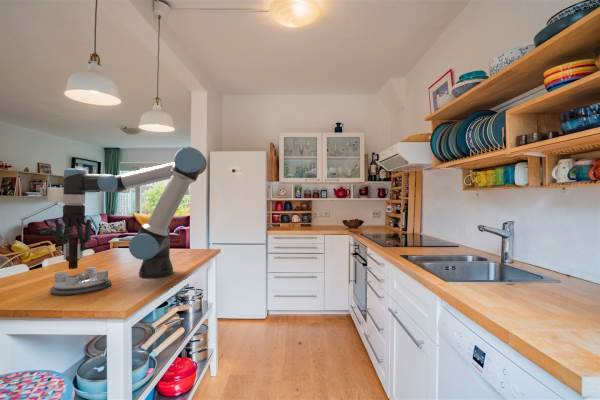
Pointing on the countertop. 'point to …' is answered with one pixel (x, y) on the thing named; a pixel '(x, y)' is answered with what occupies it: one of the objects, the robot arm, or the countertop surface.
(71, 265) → the bolt
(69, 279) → the grey round fixture plate
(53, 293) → the dark round base plate
